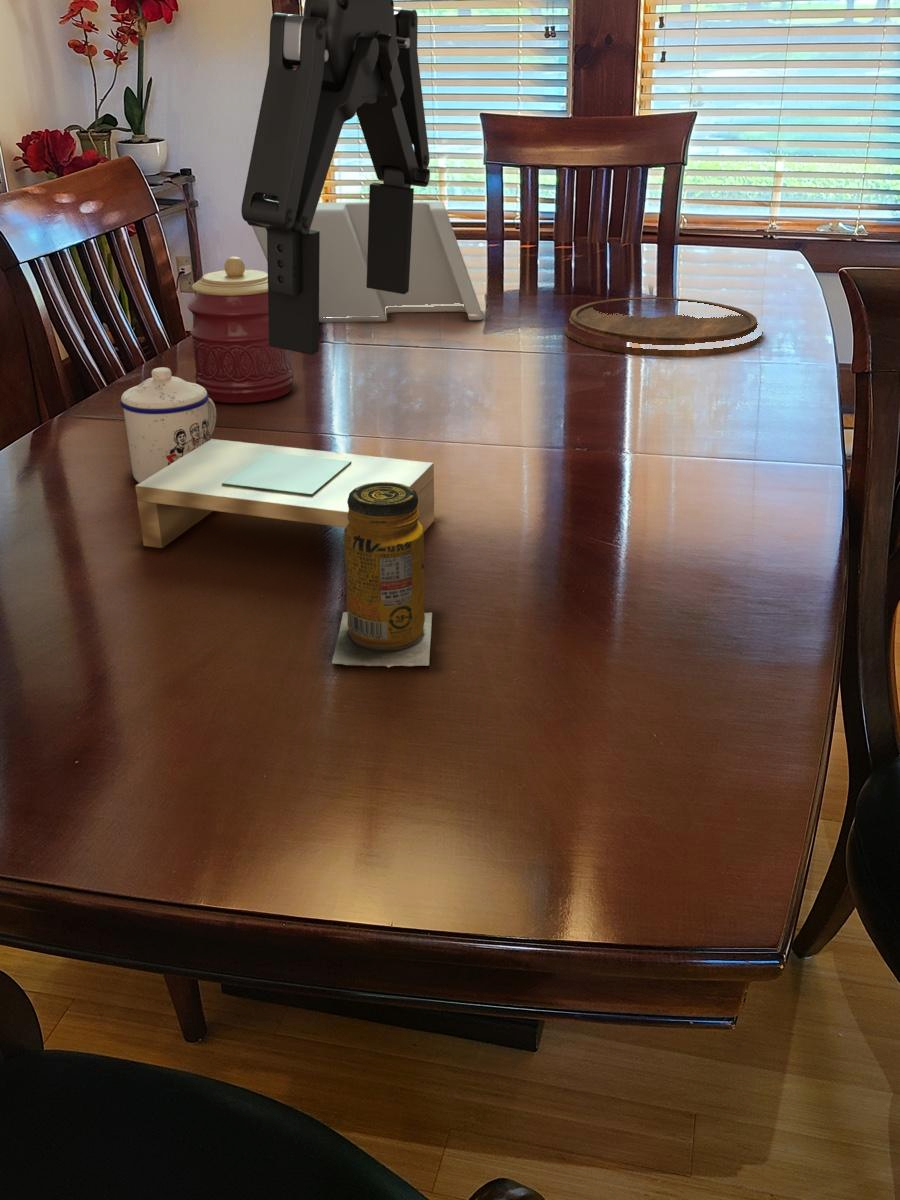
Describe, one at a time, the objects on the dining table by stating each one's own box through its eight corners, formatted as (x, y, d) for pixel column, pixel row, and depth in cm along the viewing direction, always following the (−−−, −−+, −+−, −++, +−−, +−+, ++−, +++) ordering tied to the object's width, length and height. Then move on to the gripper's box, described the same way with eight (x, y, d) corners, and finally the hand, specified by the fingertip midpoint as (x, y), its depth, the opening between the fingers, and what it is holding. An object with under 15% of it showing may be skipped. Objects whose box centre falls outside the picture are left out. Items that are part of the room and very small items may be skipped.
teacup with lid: (178, 495, 112) (165, 385, 107) (113, 480, 116) (96, 374, 111) (249, 460, 121) (240, 358, 116) (187, 448, 125) (175, 348, 120)
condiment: (432, 614, 88) (430, 476, 83) (429, 667, 81) (427, 519, 75) (343, 614, 88) (335, 476, 83) (331, 667, 81) (322, 519, 75)
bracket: (319, 382, 187) (245, 212, 174) (322, 367, 196) (252, 204, 183) (484, 320, 183) (421, 141, 170) (480, 307, 192) (420, 136, 179)
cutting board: (537, 345, 169) (537, 328, 167) (593, 305, 195) (594, 290, 194) (744, 365, 157) (746, 347, 156) (775, 319, 184) (777, 304, 183)
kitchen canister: (267, 373, 154) (256, 245, 146) (311, 394, 145) (302, 258, 137) (181, 388, 148) (165, 255, 140) (222, 411, 138) (208, 269, 130)
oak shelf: (143, 545, 101) (134, 483, 98) (217, 493, 112) (211, 436, 110) (382, 580, 94) (380, 514, 91) (434, 520, 106) (434, 460, 103)
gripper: (311, -106, 43) (309, 393, 55) (497, -82, 64) (468, 278, 75) (149, -119, 45) (180, 367, 56) (380, -92, 65) (369, 261, 77)
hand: (344, 317), depth 66 cm, fingers open, 13 cm apart
